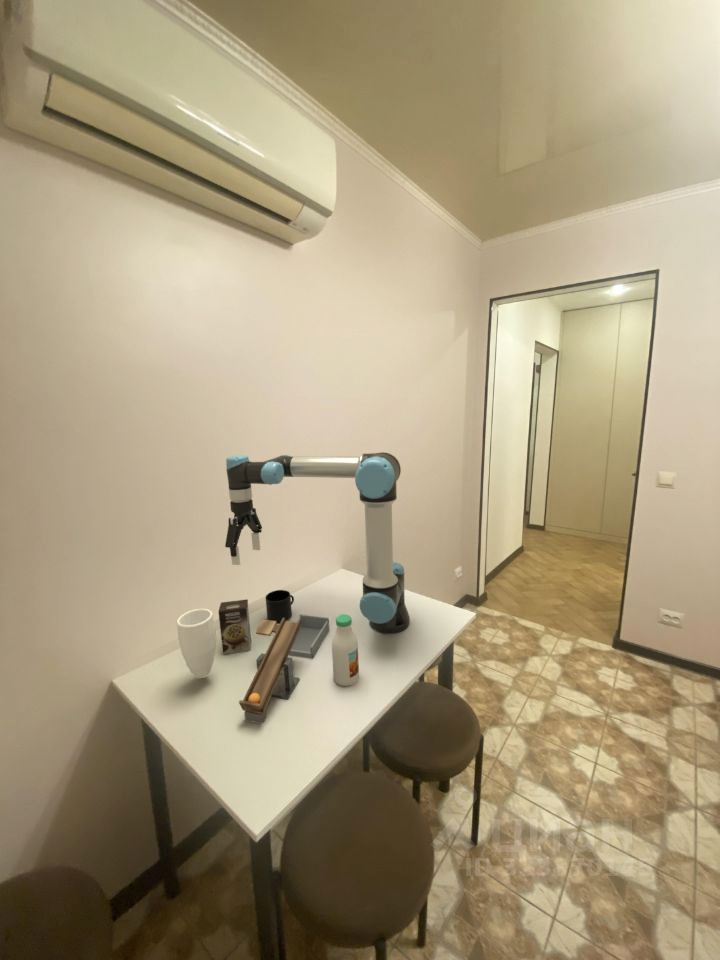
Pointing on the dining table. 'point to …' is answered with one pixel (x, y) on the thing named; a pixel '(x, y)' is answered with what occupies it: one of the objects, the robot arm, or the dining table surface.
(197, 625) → the cup
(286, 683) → the fulcrum
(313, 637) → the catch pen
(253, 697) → the ball
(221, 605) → the coffee box
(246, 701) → the lever
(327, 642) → the dining table surface
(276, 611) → the mug
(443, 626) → the dining table surface
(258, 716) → the block
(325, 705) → the dining table surface
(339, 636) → the milk bottle
